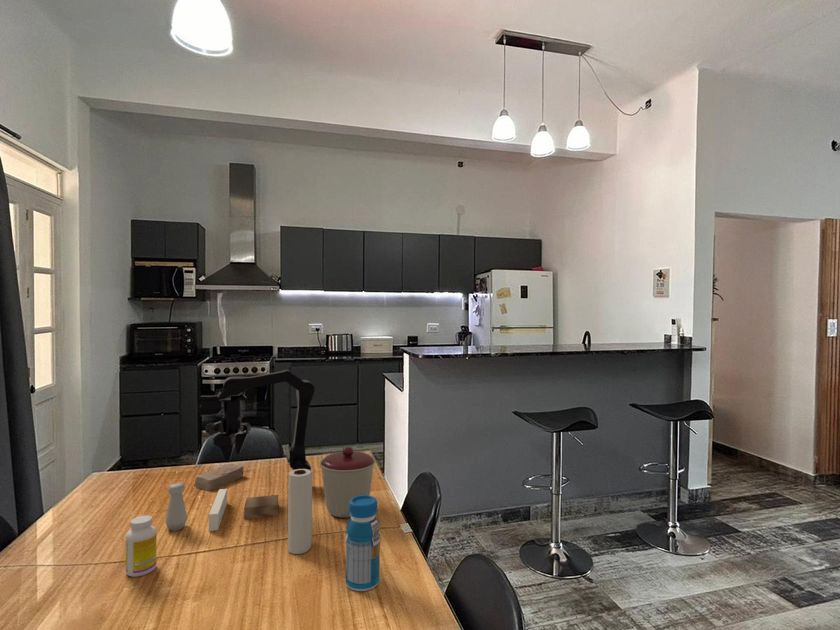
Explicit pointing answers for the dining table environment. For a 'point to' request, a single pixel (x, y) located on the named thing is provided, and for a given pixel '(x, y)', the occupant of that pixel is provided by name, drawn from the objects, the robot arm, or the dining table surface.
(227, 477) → the brick
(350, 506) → the beverage bottle
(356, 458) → the canister
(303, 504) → the paper towel roll
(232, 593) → the dining table surface
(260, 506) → the walnut block
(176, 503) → the salt shaker
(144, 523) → the supplement bottle
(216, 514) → the plank
